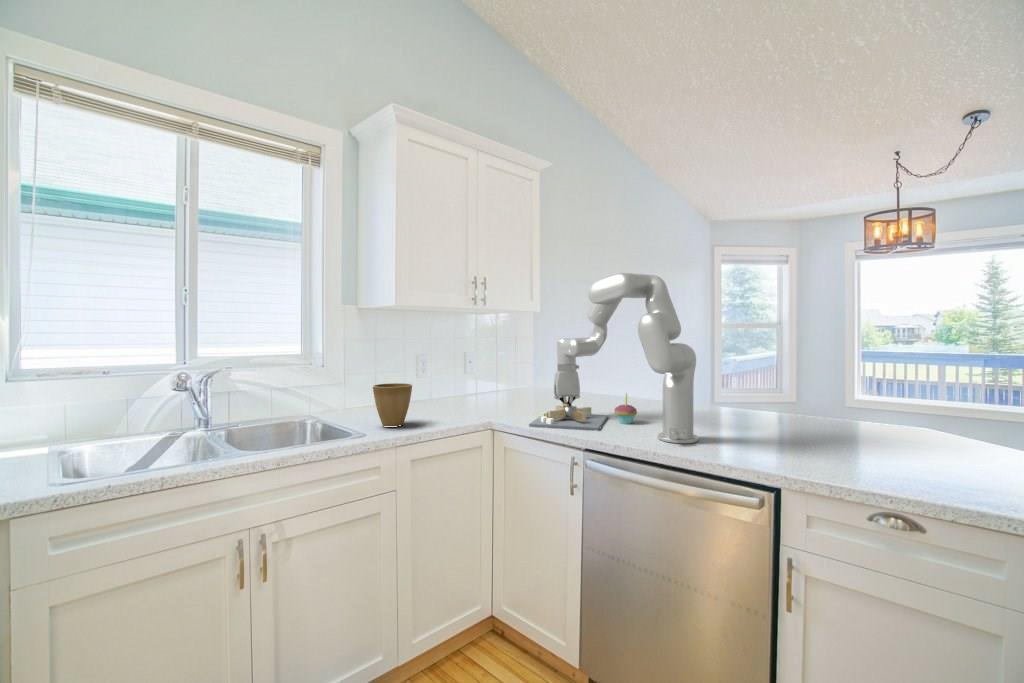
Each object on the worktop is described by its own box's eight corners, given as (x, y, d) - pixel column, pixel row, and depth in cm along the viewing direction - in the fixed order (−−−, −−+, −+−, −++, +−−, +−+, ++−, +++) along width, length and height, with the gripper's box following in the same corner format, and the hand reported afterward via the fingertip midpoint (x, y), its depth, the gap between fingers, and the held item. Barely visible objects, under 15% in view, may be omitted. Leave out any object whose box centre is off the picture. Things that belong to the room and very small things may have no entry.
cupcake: (639, 425, 177) (639, 393, 177) (616, 425, 177) (616, 393, 177) (633, 420, 186) (633, 390, 185) (612, 420, 186) (612, 390, 186)
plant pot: (407, 429, 173) (407, 387, 173) (368, 430, 174) (367, 387, 173) (416, 421, 188) (416, 382, 188) (380, 422, 189) (379, 382, 188)
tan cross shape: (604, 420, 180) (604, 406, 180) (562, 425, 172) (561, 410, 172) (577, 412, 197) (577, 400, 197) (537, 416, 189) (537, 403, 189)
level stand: (598, 430, 168) (598, 422, 168) (529, 426, 177) (529, 419, 177) (607, 417, 193) (607, 410, 193) (546, 414, 201) (546, 407, 201)
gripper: (580, 367, 197) (581, 410, 197) (546, 368, 194) (547, 412, 194) (587, 368, 190) (588, 413, 190) (551, 369, 187) (552, 415, 187)
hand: (567, 413), depth 192 cm, fingers closed
